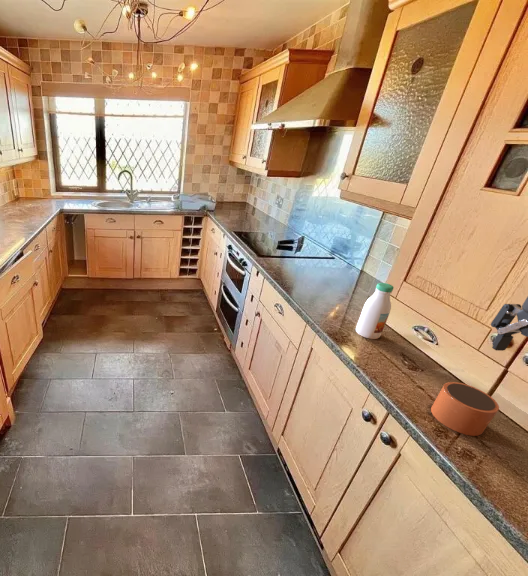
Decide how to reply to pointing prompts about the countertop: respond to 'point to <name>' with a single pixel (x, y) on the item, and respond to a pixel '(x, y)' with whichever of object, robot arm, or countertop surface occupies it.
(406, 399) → the countertop surface
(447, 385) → the terracotta pot
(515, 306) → the robot arm
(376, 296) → the milk bottle
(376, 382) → the countertop surface
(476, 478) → the countertop surface
